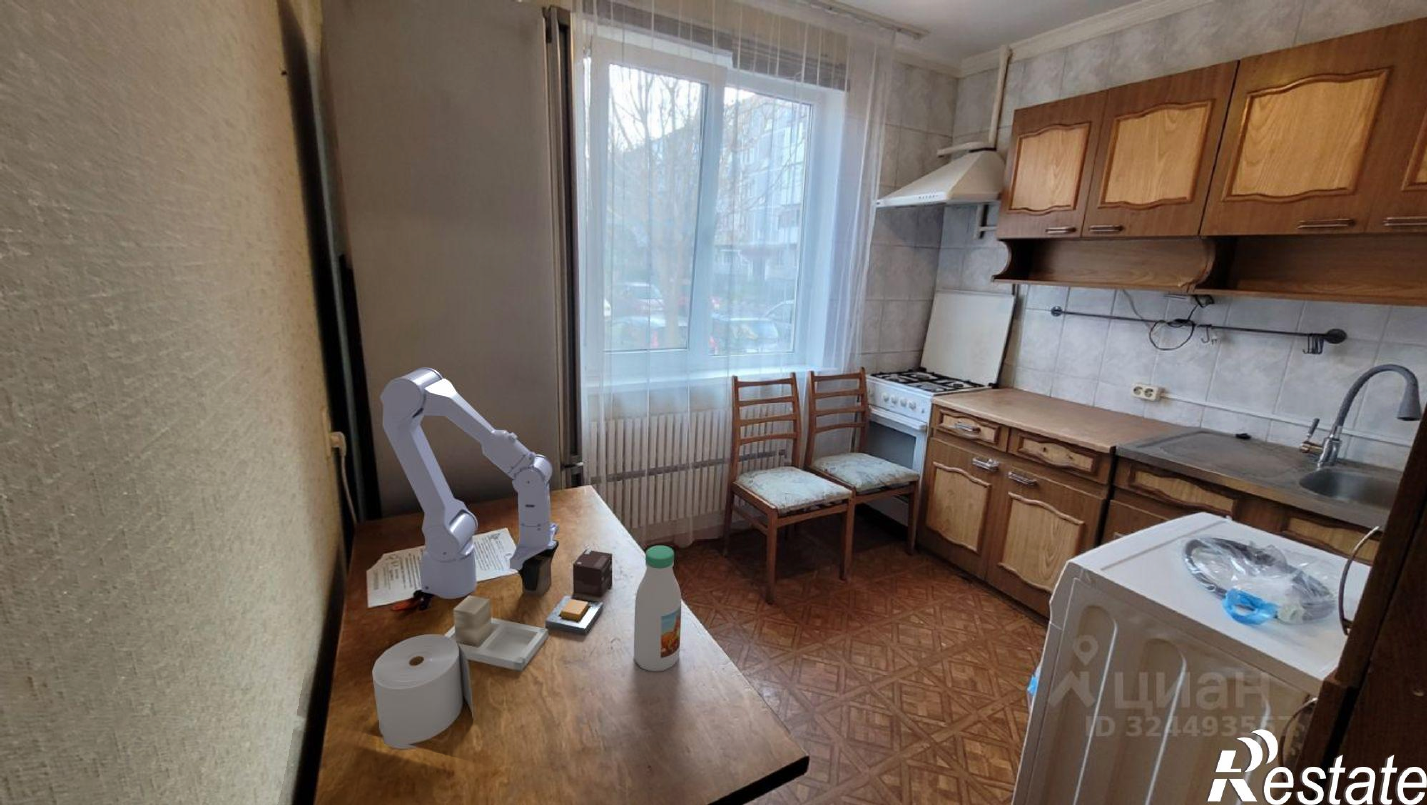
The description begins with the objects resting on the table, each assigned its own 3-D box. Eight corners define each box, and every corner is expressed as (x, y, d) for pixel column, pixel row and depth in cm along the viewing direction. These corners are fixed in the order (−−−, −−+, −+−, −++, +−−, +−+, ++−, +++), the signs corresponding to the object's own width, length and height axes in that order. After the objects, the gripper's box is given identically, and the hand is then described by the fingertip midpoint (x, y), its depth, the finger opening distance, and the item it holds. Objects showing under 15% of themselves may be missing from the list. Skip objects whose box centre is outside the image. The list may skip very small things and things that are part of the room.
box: (601, 602, 106) (601, 569, 104) (572, 597, 107) (571, 564, 105) (613, 585, 112) (613, 553, 110) (585, 580, 113) (585, 548, 111)
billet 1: (456, 645, 91) (453, 609, 89) (471, 630, 95) (468, 595, 93) (477, 650, 90) (474, 613, 89) (491, 634, 94) (489, 599, 92)
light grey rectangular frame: (436, 656, 90) (434, 644, 89) (468, 624, 98) (467, 612, 97) (521, 676, 87) (521, 663, 86) (548, 641, 95) (547, 629, 94)
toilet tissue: (385, 700, 81) (377, 643, 78) (473, 679, 86) (468, 624, 83) (374, 760, 72) (365, 698, 69) (474, 733, 76) (469, 673, 74)
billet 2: (522, 596, 106) (521, 564, 104) (533, 584, 110) (532, 554, 108) (541, 600, 105) (540, 568, 103) (551, 588, 109) (550, 557, 107)
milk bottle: (643, 678, 88) (645, 569, 82) (627, 648, 94) (629, 544, 89) (686, 664, 91) (691, 558, 86) (668, 636, 98) (672, 536, 93)
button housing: (545, 632, 97) (545, 620, 96) (565, 606, 104) (565, 595, 103) (585, 640, 95) (585, 628, 95) (602, 614, 103) (602, 602, 102)
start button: (561, 625, 98) (560, 610, 98) (570, 612, 102) (570, 598, 101) (579, 628, 98) (579, 614, 97) (588, 616, 101) (588, 602, 100)
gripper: (533, 541, 96) (536, 608, 99) (571, 506, 109) (572, 566, 113) (497, 535, 97) (501, 601, 101) (539, 501, 111) (541, 560, 114)
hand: (536, 582), depth 107 cm, fingers closed on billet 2, 4 cm apart
